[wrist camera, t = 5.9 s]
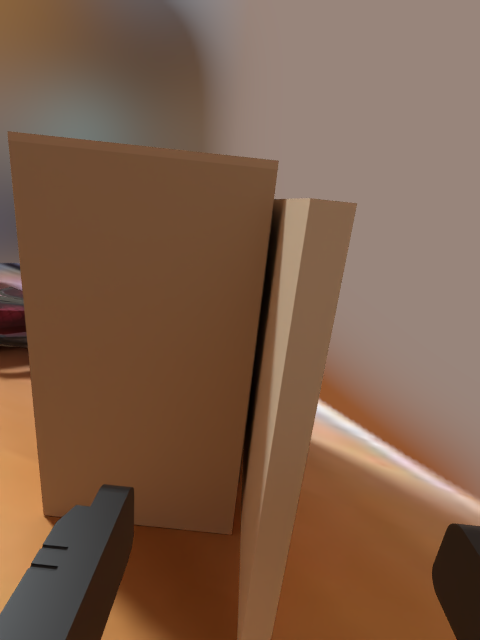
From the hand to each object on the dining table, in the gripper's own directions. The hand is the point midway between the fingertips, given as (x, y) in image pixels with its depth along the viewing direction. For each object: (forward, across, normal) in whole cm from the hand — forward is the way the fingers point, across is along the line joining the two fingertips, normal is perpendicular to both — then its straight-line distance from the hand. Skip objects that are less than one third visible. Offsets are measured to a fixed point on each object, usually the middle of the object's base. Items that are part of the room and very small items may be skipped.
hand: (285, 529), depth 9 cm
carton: (+13, +6, +9) cm, 17 cm away
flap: (+10, 0, +8) cm, 13 cm away
